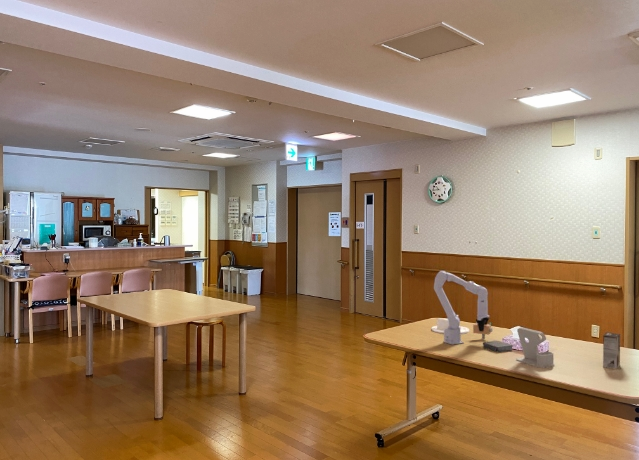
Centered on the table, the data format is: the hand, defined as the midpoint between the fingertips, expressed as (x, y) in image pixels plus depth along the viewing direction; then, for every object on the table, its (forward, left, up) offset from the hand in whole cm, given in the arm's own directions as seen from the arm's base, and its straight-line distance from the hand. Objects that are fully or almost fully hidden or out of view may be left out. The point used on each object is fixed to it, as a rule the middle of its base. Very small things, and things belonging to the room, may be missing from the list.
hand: (482, 330), depth 299 cm
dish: (+8, +39, -9) cm, 41 cm away
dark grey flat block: (0, -12, -8) cm, 15 cm away
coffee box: (+26, -63, -9) cm, 69 cm away
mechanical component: (+11, +11, -9) cm, 18 cm away
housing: (0, 0, -2) cm, 2 cm away
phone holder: (-3, -42, -9) cm, 43 cm away
